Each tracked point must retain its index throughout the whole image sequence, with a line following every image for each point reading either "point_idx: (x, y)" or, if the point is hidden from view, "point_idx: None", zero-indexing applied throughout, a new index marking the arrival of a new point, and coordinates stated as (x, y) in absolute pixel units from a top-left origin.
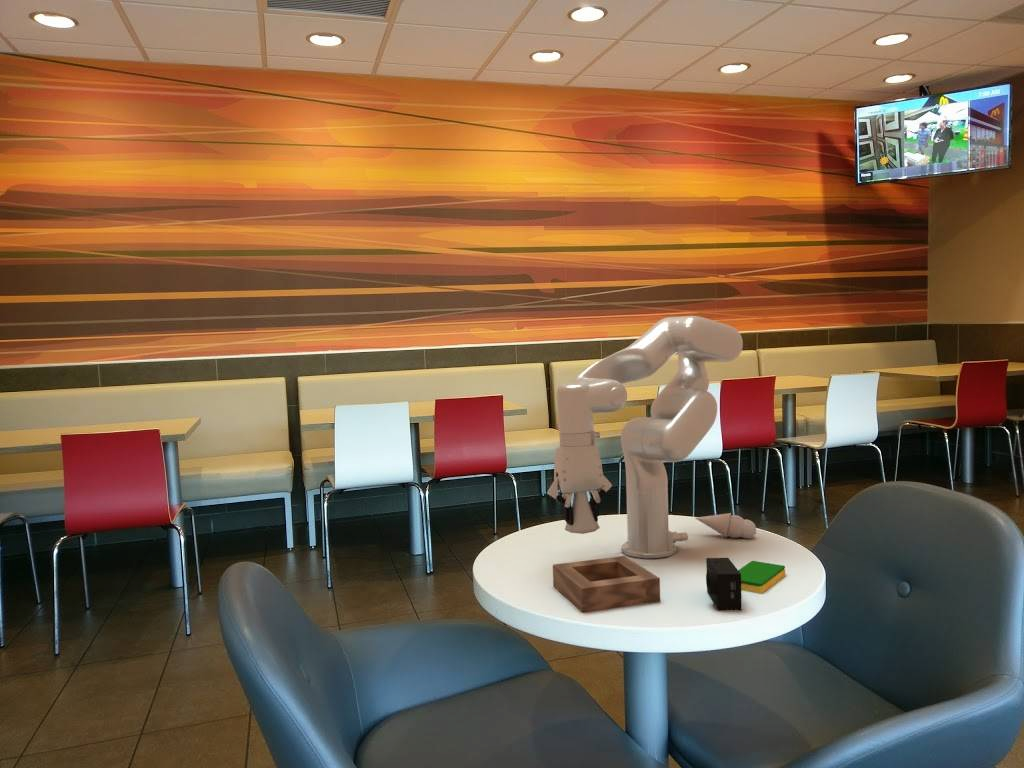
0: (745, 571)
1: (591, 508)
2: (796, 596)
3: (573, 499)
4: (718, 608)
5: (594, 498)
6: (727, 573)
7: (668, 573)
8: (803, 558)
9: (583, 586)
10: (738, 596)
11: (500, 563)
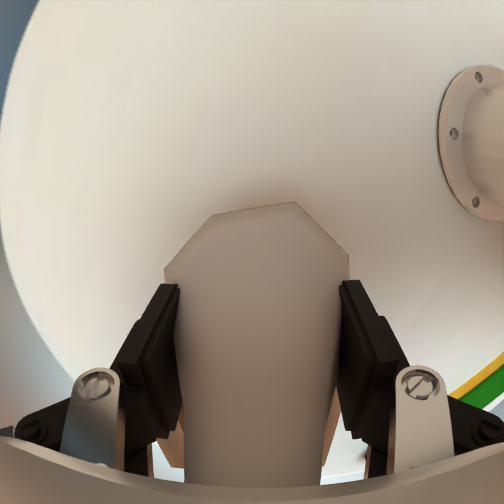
0: (488, 387)
1: (348, 372)
2: None
3: (186, 440)
4: (365, 458)
5: (365, 467)
6: None
7: (433, 324)
8: None
9: (176, 464)
10: None
11: (38, 95)
